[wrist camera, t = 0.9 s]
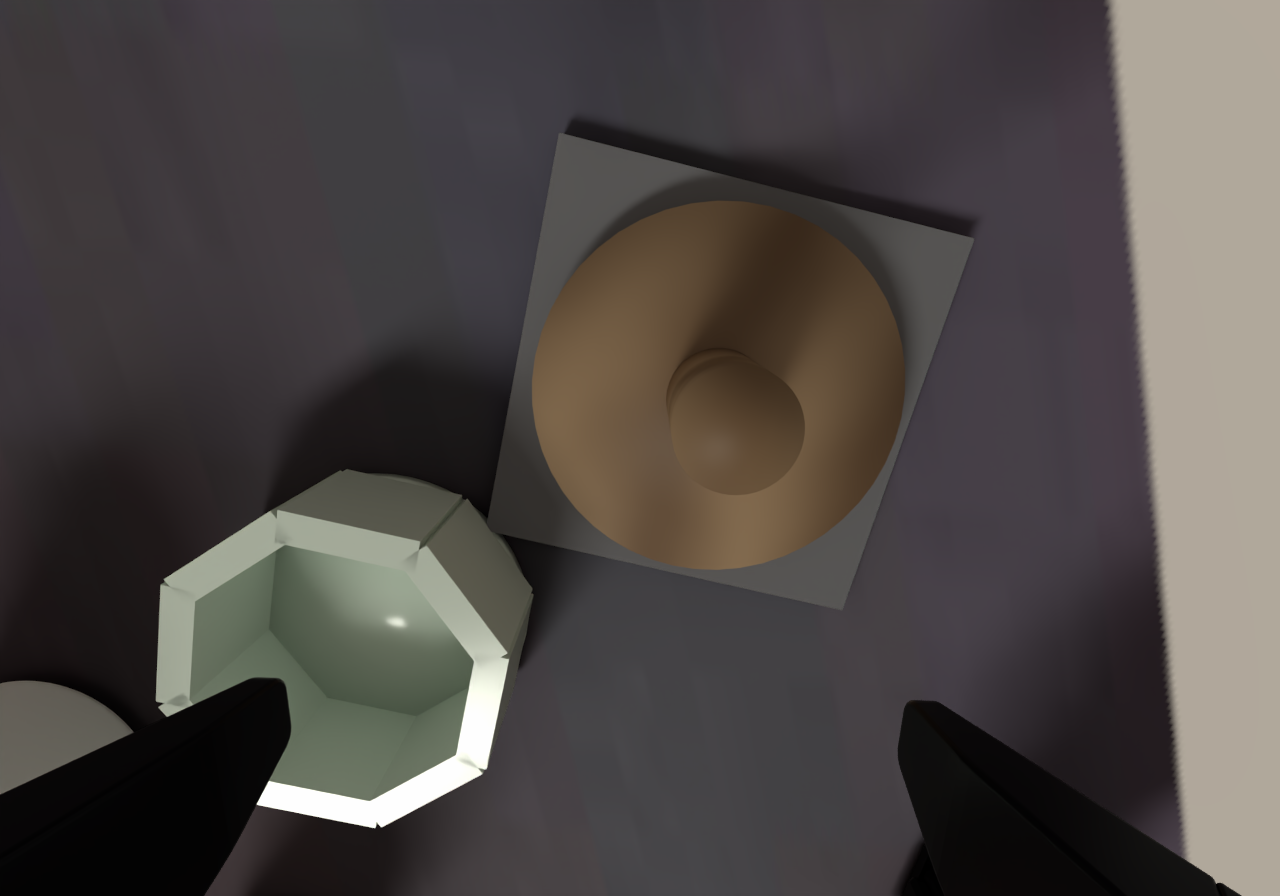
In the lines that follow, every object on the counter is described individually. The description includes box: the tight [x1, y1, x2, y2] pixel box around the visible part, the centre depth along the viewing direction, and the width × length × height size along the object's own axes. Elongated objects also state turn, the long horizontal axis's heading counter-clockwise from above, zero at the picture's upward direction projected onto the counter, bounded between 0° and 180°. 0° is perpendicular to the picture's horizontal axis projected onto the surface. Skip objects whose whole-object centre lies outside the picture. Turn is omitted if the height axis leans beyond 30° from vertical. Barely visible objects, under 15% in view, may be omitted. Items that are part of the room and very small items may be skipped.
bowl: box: [156, 469, 534, 828], centre depth 20 cm, size 10×10×5 cm
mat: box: [487, 133, 974, 610], centre depth 20 cm, size 13×13×1 cm
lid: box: [532, 201, 905, 570], centre depth 17 cm, size 12×12×6 cm
